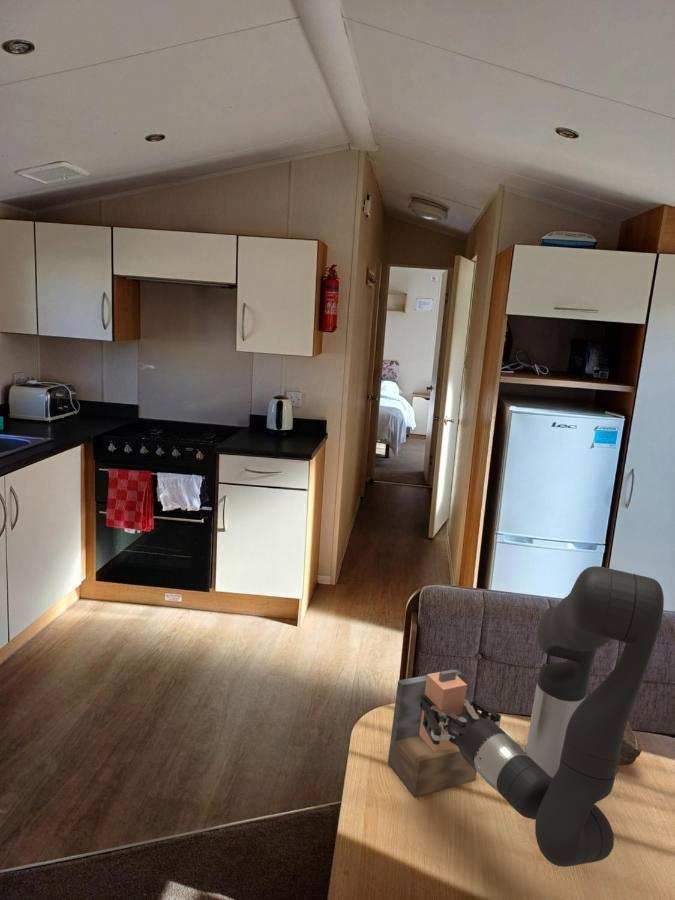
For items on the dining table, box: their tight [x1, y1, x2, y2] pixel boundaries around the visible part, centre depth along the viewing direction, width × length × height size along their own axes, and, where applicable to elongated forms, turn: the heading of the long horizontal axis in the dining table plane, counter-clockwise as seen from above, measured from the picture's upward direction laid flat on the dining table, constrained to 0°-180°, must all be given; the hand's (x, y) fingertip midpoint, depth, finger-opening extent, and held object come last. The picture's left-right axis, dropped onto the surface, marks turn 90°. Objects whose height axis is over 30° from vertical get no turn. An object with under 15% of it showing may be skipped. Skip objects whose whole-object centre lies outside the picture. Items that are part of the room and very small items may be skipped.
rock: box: [617, 721, 643, 767], centre depth 135 cm, size 12×10×10 cm
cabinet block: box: [419, 669, 468, 752], centre depth 115 cm, size 5×5×14 cm
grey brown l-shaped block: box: [387, 669, 478, 798], centre depth 125 cm, size 14×10×18 cm
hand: (435, 696), depth 117 cm, fingers closed on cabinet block, 5 cm apart
